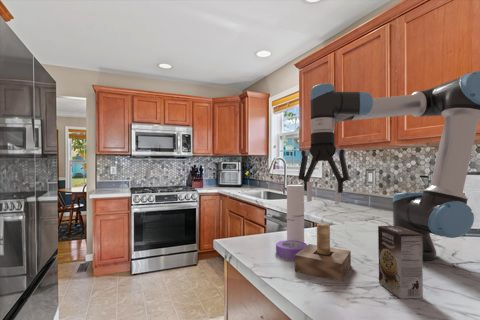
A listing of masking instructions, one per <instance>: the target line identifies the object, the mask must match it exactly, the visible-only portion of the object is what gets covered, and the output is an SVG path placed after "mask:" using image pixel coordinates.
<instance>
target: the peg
mask: <svg viewBox="0 0 480 320" xmlns="http://www.w3.org/2000/svg"><path fill="white" fill-rule="evenodd" d="M330 226H331V225H330V224H329V223H317V224H316V245H317V255H323V256H328V257H330V248H331V227H330Z"/></svg>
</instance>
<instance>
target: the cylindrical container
mask: <svg viewBox="0 0 480 320" xmlns="http://www.w3.org/2000/svg"><path fill="white" fill-rule="evenodd" d="M286 240H294V241H300V242H304V243H305V190H304V184H302V185H301V184H287V185H286Z"/></svg>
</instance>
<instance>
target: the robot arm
mask: <svg viewBox="0 0 480 320" xmlns="http://www.w3.org/2000/svg"><path fill="white" fill-rule="evenodd" d="M309 96H310V97H309V98H310V100H309V103H310V108H309V109H310V132H311V134H310V148H309V149H306V150H304V149H303V150H301V153H300V154H301V161H300V166H299V171H298V172H299V173H298V177H297V178H298V180H301V181H303V185H304V192H306V202H312V201H313V199H312V198H313V196H312V195H313V194H312V193H313V191H312V190H313V189H312V188H313V187H312V184H313V183H312V181H311V180H310V179H311V177H312V175H313V173H314V171H315V168H316V166H317V164H318V163H319V162H322V161H325V162H327V164H329V167H330V168H331V171H332V172H333V174H334V177H335V179H336V181H337V182H334V193H335V194H334V199H335V200H334V201H335V202H334V203H335V205H337V204H338V205H339V204H340V203H341V202H340V199H341V198H340V197H341V196H340V195H341V194H342V193H343V192H344V182H346V181H349V180H350V176H349V171H348V167H347V161H346V150H345V149H343V148H341V149H340V148H337V147H336V144H335V143H336V141H335V140H336V139H335V137H336V134H335V132H334V131H335V130H336V128H335V124H337V123H339V122H340V123H341V122H347V121H348V122H349V121H357V120H368V119H370V120H371V119H379V118H389V117H400V116H412V117H414V118H415V117H416V118H419V117H440V116H441V117H443V118H444V123H443V128H442V132H441V136H440V141H439V146H438V150H437V154H436V159H435V163H434V168H433V172H432V176H431V181H430V185H429V186H427V188H425V189H423V191H422V192H396V193H394V194H393V197H392V213H393V214H392V222H393V223H392V226H400V227H403V228H406V229H409V230H412V231H415V232H417V233H420V234H422V258H423V261H433V260H436V259H437V249H436V247H435V244H434V242H433V240H432V237H431V234H434V235H436V236H439V237H444V238H449V239H455V238H460V237H463V235H465V234H467V233H468V232H469V231H470V230H471V229H472V228H473V225H474V221H475V213H474V212H472V211H473V209H472V208H471V207H470V205H468V200H469V199H468V197H467V196H466V194H465V193H464V189H465V184H466V181H467V180H466V179H467V175H468V171H469V165H470V161H471V158H472V152H473V149H474V143H475V138H476V133H477V130H478V124H479V121H480V70H476V71H473V72H470V73H464V74H463V75H462V76H460V77H456V78H454V79H452V80H450V81H447V82H445V83H441V84H439V85H437V86H434V87H431V88H428V89H425V90H419V91H414V92H413V93H411V94H404V95H394V96H392V95H391V96H381V97H373V95H372V93H370V92H367V91H336V89H335V86H334V84H331V83H319V84H316V85H313V86H312V87H311V89H310V95H309ZM335 154H336V155H337V156H338V159H339V163H340V169H341V172H342V175H341V173H340V171H339V168H338V166H337V164H336V162H335V159H334V157H333V156H335ZM310 155H311V156H312V159H311V162H310V165H309V166H308V169H307V165H308V159H309V156H310ZM306 169H307V171H306Z"/></svg>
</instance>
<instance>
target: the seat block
mask: <svg viewBox="0 0 480 320" xmlns="http://www.w3.org/2000/svg"><path fill="white" fill-rule="evenodd" d="M351 254H352V253H351V250H347V249H342V248H337V247H336V248H335V247H330V257H328V256H323V255H317V244H310V243H309V244H308V243H307V246H306V247H305V248H303V249H302V250H301V251H299V252H298V253H297V254H295V259H294V271H295V272H298V273H302V274H306V275H311V276H316V277H320V278H323V279H329V280H333V281H338V282H341V283H342V282H343V281H344V279H345V277H346V275H347V273H348V272H349V270H350V268H351V266H352V261H351V259H352V256H351Z"/></svg>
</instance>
